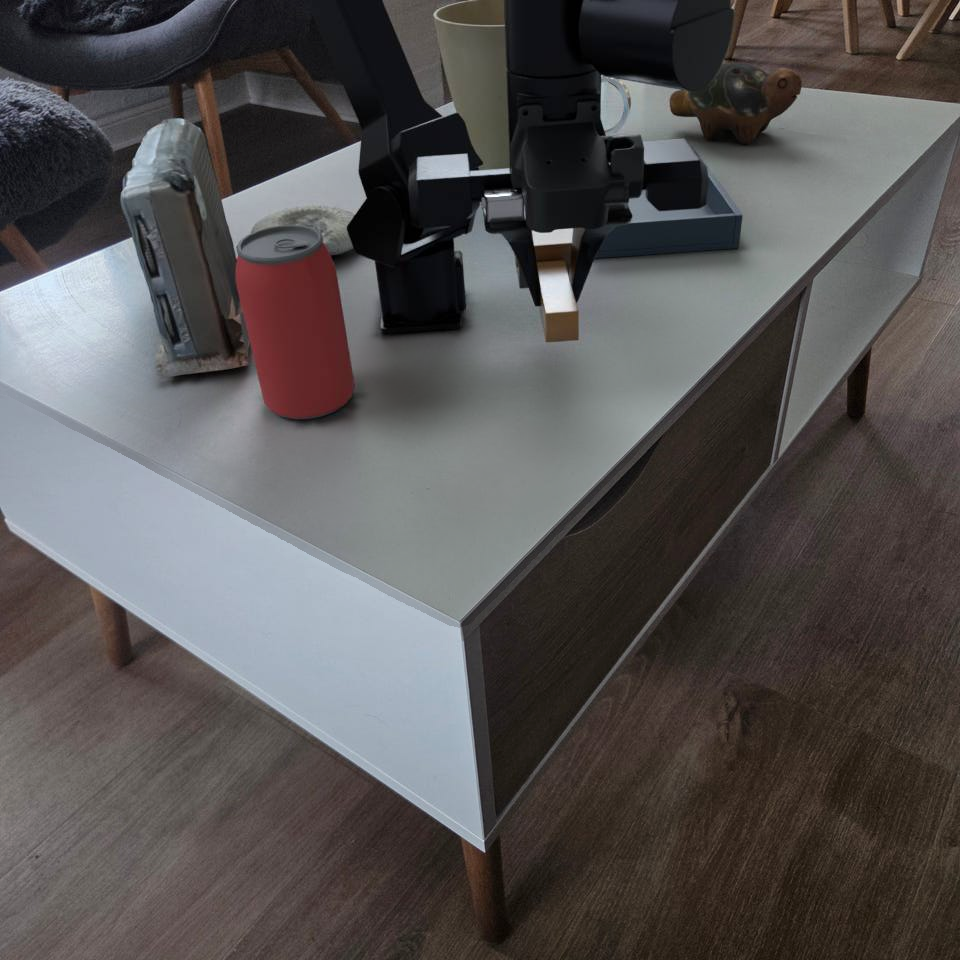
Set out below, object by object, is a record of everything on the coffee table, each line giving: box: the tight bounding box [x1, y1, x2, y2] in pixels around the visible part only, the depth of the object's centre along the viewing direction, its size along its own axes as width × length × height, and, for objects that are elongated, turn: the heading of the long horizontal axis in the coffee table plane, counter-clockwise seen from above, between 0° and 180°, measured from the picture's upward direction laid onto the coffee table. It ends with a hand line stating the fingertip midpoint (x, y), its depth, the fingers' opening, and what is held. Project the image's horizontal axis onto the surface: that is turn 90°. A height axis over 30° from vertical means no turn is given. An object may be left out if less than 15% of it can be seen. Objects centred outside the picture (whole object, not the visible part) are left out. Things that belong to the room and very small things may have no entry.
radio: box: [120, 117, 252, 379], centre depth 74 cm, size 23×9×15 cm, turn 5°
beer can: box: [235, 225, 356, 420], centre depth 63 cm, size 7×7×12 cm
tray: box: [595, 145, 744, 259], centre depth 90 cm, size 13×19×3 cm
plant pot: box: [433, 0, 510, 170], centre depth 100 cm, size 15×15×16 cm
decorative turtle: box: [669, 62, 803, 146], centre depth 106 cm, size 10×15×8 cm, turn 62°
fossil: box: [249, 204, 355, 256], centre depth 87 cm, size 11×4×10 cm
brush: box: [513, 228, 580, 343], centre depth 66 cm, size 13×5×3 cm, turn 3°
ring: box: [601, 75, 632, 136], centre depth 108 cm, size 7×3×8 cm, turn 69°
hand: (555, 302), depth 65 cm, fingers closed on brush, 2 cm apart
